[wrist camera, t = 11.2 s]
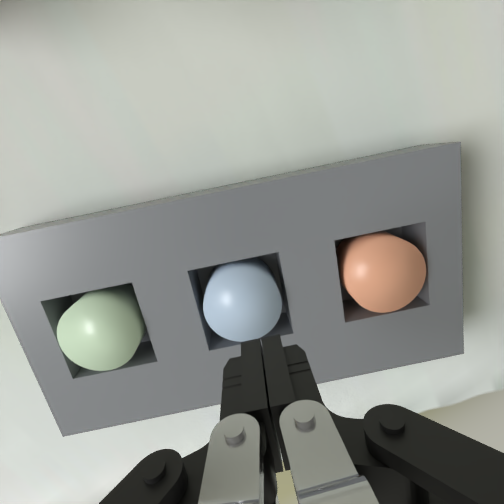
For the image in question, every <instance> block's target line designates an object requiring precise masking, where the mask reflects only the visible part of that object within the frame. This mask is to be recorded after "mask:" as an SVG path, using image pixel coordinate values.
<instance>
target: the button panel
mask: <svg viewBox="0 0 504 504" xmlns="http://www.w3.org/2000/svg"><path fill="white" fill-rule="evenodd" d="M382 230H383V231H386V232H388V233H390V234H392V235H394V236H397V237H399V238H401V239H403V240H405V241H408V242H410V243H411V244H413V245H414V246H415V247H417V249H418V250H419V251H420V252H421V254H422V255H423V258H424V260H425V264H426V277H425V281H424V284H423V286H422V289H421V290H420V292H419V293H418V295H417V296H416V297H415V298H414V299H413V300H412V301H411V302H410V303H409V304H407V305H406V306H404V307H402V308H400V309H398V310H396V311H392V312H386V313H379V312H373V311H370V310H367V309H365V308H363V307H362V306H361V305H359V304H358V303H357V302H356V301H355V300H354V298H353V297H352V296H351V295H350V294H349V293H348V292H347V290H346V289H345V288H344V287H343V286H342V285H341V284H340V280H339V273H338V265H337V257H336V249H337V247H338V246H339V244H340V243H341V242H342V240H343V239H344V238H349V237H353V236H358V235H363V234H368V233H373V232H378V231H382ZM252 257H256V258H258V259H260V260H262V261H263V262H264V263H265V264H266V265H267V266H268V267H269V268H270V270H271V271H272V273H273V275H274V278H275V281H276V284H277V287H278V289H279V292H280V295H281V300H282V310H281V314H280V318H279V320H278V322H277V323H276V325H275V326H274V327H273V329H272V330H271V331H269V332H268V333H267V334H266V335H264V336H262V337H267V336H271V335H276V334H280V337H281V342H282V346H283V347H285V346H290V345H295V344H297V345H298V346H299V347H301V348H302V349H303V350H304V351H305V353H306V356H307V359H308V362H309V364H310V367H311V371H312V373H313V376H314V379H315V382H316V384H319V383H324V382H329V381H334V380H339V379H344V378H348V377H353V376H358V375H363V374H368V373H373V372H377V371H382V370H387V369H392V368H397V367H401V366H406V365H411V364H416V363H421V362H426V361H430V360H435V359H440V358H445V357H450V356H455V355H459V354H464V338H463V271H462V204H461V142H450V143H439V144H428V145H419V146H414V147H409V148H404V149H400V150H395V151H390V152H385V153H380V154H375V155H371V156H366V157H361V158H356V159H351V160H346V161H342V162H337V163H332V164H327V165H322V166H317V167H313V168H308V169H303V170H298V171H293V172H288V173H284V174H279V175H274V176H269V177H264V178H259V179H255V180H250V181H245V182H240V183H235V184H231V185H226V186H221V187H216V188H211V189H206V190H202V191H197V192H192V193H187V194H182V195H177V196H173V197H168V198H163V199H158V200H153V201H148V202H144V203H139V204H134V205H129V206H124V207H119V208H115V209H110V210H105V211H100V212H95V213H90V214H86V215H81V216H76V217H71V218H66V219H62V220H57V221H52V222H47V223H42V224H37V225H33V226H28V227H23V228H19V229H15V230H12V231H9V232H6V233H2V234H0V300H1V302H2V304H3V307H4V309H5V311H6V313H7V315H8V318H9V320H10V322H11V324H12V326H13V329H14V331H15V333H16V335H17V337H18V339H19V342H20V344H21V346H22V348H23V350H24V353H25V355H26V357H27V359H28V361H29V364H30V366H31V368H32V370H33V372H34V374H35V377H36V379H37V381H38V383H39V385H40V388H41V390H42V392H43V394H44V396H45V399H46V401H47V403H48V405H49V407H50V410H51V412H52V414H53V416H54V418H55V420H56V423H57V425H58V427H59V429H60V431H61V434H62V436H63V437H64V436H68V435H73V434H78V433H83V432H88V431H93V430H97V429H102V428H107V427H112V426H117V425H122V424H126V423H131V422H136V421H141V420H146V419H151V418H155V417H160V416H165V415H170V414H175V413H179V412H184V411H189V410H194V409H199V408H204V407H208V406H213V405H218V404H221V396H222V382H223V368H224V367H225V365H226V363H227V362H228V360H229V358H234V357H239V356H241V342H238V341H232V340H228V339H226V338H223V337H221V336H220V335H218V334H217V333H216V332H215V331H213V329H212V328H211V327H210V326H209V324H208V323H207V321H206V319H205V316H204V311H203V301H204V296H205V292H206V287H207V282H208V278H209V275H210V273H211V271H212V270H213V268H214V267H215V266H216V265H218V264H223V263H228V262H233V261H238V260H242V259H247V258H252ZM122 284H129V285H131V286H133V287H134V291H135V294H136V297H137V300H138V303H139V306H140V309H141V312H142V315H143V318H144V321H145V324H146V327H147V330H146V332H145V334H144V336H143V338H142V340H141V342H140V344H139V346H138V348H137V349H136V351H135V353H134V355H133V356H132V358H131V359H130V360H129V361H128V362H127V363H125V364H124V365H122V366H120V367H118V368H116V369H112V370H107V371H95V370H90V369H87V368H84V367H81V366H79V365H77V364H76V363H74V362H73V361H71V360H70V359H69V358H68V357H67V356H66V355H65V354H64V352H63V351H62V349H61V347H60V345H59V342H58V339H57V326H58V323H59V320H60V318H61V317H62V315H63V314H64V313H65V312H66V310H68V309H69V308H70V307H71V306H72V305H73V304H74V303H75V302H77V301H78V300H79V299H80V298H81V297H82V296H83V295H84V294H86V293H87V292H88V291H93V290H98V289H102V288H107V287H112V286H117V285H122ZM262 337H260V341H261V338H262ZM261 345H262V341H261Z"/></svg>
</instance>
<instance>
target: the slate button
mask: <svg viewBox="0 0 504 504" xmlns="http://www.w3.org/2000/svg"><path fill="white" fill-rule="evenodd" d="M281 310H282V300H281V295H280V292H279V289H278V287H277V284H276V281H275V278H274V275H273V273H272V271H271V270H270V268H269V267H268V266H267V265H266V264H265V263H264V262H263V261H262V260H260V259H258V258H256V257H252V258H247V259H242V260H238V261H233V262H228V263H223V264H218V265H216V266H215V267H214V268H213V270H212V271H211V273H210V275H209V278H208V282H207V287H206V292H205V296H204V301H203V311H204V316H205V319H206V321H207V323H208V324H209V326H210V327H211V328H212V329H213V331H215V332H216V333H217V334H218V335H220V336H221V337H223V338H226V339H228V340H232V341H238V342H244V341H248V340H253V339H258V338H260V337H262V336H264V335H266V334H267V333H268V332H269V331H271V330H272V329H273V327H274V326H275V325H276V323H277V322H278V320H279V318H280V314H281Z"/></svg>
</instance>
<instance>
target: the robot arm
mask: <svg viewBox="0 0 504 504" xmlns="http://www.w3.org/2000/svg"><path fill="white" fill-rule="evenodd" d="M261 341H262V345H261ZM261 341H260V338H258V339H253V340H248V341H244V342H241V356H239V357H234V358H229V360H228V362H227V363H226V365H225V367H224V368H223V382H222V396H221V411H220V422H219V423H218V424H217V425H216V426H215V427H214V429H213V431H212V433H211V436H210V441H209V443H208V444H206V445H205V446H204V447H202V448H201V449H199V450H197V451H195V452H193V453H191V454H190V455H188V456H186V457H184V458H181V456H180V454H179V453H178V452H176V451H175V450H171V449H162V450H158V451H156V452H153V453H151V454H150V455H148V456H147V457H145V458H144V459H143V460H142V461H140V462H139V463H138V464H137V465H136V466H135V467H134V468H133V469H132V471H131V472H130V473H129V474H128V475H127V476H126V477H125V478H124V479H123V480H122V481H121V482H120V483H119V484H118V485H117V486H116V487H115V488H114V489H113V490H112V491H111V492H110V493H109V494H108V495H107V496H106V497H105V498H104V499H103V500H102V501H101V502H100V503H99V504H279V501H278V496H277V481H276V473H277V472H282V471H283V466H282V459H281V454H282V458H283V462H284V466H285V470H291V474H292V478H293V483H294V487H295V491H296V496H297V500H298V504H504V453H502V452H500V451H498V450H495V449H493V448H491V447H489V446H487V445H485V444H482V443H480V442H478V441H476V440H473V439H471V438H469V437H467V436H465V435H463V434H460V433H458V432H456V431H454V430H452V429H449V428H448V427H445V426H443V425H441V424H439V423H437V422H435V421H432V420H430V419H428V418H426V417H424V416H421V415H419V414H417V413H415V412H413V411H411V410H408V409H406V408H404V407H401V406H398V405H392V404H383V405H378V406H375V407H373V408H371V409H370V410H369V411H368V412H367V413H366V414H365V416H364V419H353V418H345V417H341V416H338V415H336V414H334V413H332V412H331V411H330V410H328V409H327V408H326V406H325V405H324V403H323V401H322V399H321V396H320V393H319V390H318V387H317V384H316V382H315V379H314V376H313V373H312V371H311V367H310V364H309V362H308V359H307V356H306V353H305V351H304V350H303V349H302V348H301V347H299V346H298V345H297V344H295V345H290V346H285V347H283V346H282V342H281V337H280V334H276V335H271V336H267V337H262V338H261ZM280 450H281V452H280Z"/></svg>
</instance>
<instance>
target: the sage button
mask: <svg viewBox="0 0 504 504" xmlns="http://www.w3.org/2000/svg"><path fill="white" fill-rule="evenodd" d="M146 330H147V327H146V324H145V321H144V318H143V315H142V312H141V309H140V306H139V303H138V300H137V297H136V294H135V291H134V287H133V286H131V285H129V284H122V285H117V286H112V287H107V288H102V289H98V290H93V291H88V292H87V293H86V294H84V295H83V296H82V297H81V298H80V299H79V300H78V301H77V302H75V303H74V304H73V305H72V306H71V307H70V308H69V309H68V310H66V312H65V313H64V314H63V315H62V317H61V318H60V320H59V323H58V326H57V339H58V342H59V345H60V347H61V349H62V351H63V352H64V354H65V355H66V356H67V357H68V358H69V359H70V360H71V361H73V362H74V363H76V364H77V365H79V366H81V367H84V368H87V369H90V370H95V371H107V370H112V369H116V368H118V367H120V366H122V365H124V364H125V363H127V362H128V361H129V360H130V359H131V358H132V356H133V355H134V353H135V351H136V349H137V348H138V346H139V344H140V342H141V340H142V338H143V336H144V334H145V332H146Z"/></svg>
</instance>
